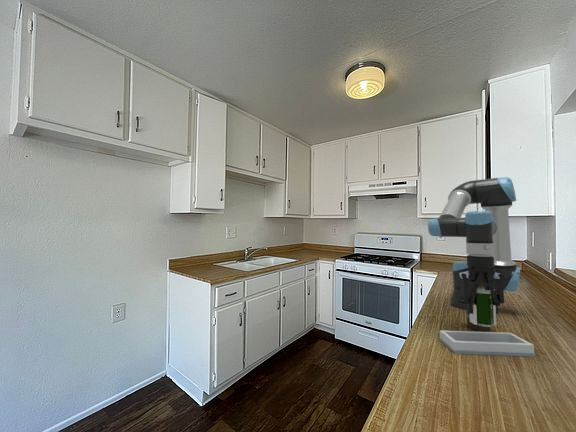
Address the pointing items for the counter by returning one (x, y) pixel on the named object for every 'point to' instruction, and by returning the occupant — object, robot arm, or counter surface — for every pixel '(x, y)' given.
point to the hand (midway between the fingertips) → (482, 323)
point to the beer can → (484, 307)
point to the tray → (486, 343)
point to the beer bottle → (477, 327)
